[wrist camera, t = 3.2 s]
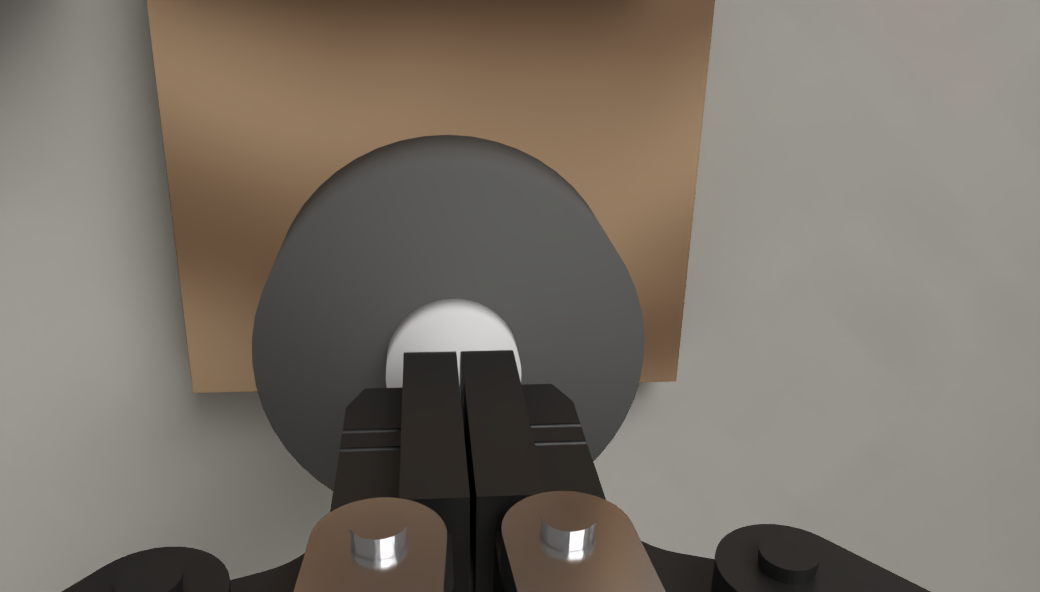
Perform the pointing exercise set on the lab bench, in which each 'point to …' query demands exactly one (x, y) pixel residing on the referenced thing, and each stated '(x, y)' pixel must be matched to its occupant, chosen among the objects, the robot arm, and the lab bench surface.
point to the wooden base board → (421, 130)
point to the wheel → (442, 289)
